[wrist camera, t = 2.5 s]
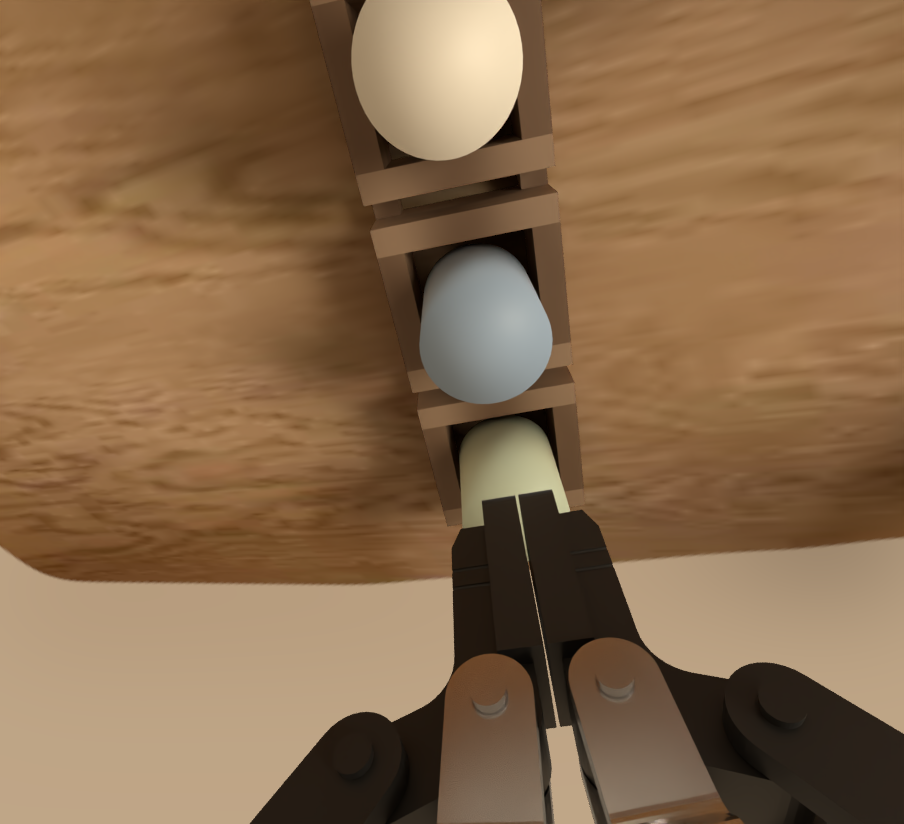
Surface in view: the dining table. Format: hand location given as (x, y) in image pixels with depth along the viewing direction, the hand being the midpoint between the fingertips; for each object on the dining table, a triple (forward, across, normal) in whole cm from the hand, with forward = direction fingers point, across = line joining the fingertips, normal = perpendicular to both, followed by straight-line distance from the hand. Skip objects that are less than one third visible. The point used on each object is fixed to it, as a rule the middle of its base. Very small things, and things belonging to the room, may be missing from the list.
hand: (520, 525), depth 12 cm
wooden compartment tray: (+19, 0, 0) cm, 19 cm away
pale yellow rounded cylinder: (+16, 0, +9) cm, 18 cm away
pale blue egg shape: (+16, 0, 0) cm, 16 cm away
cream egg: (+16, 0, -9) cm, 18 cm away
